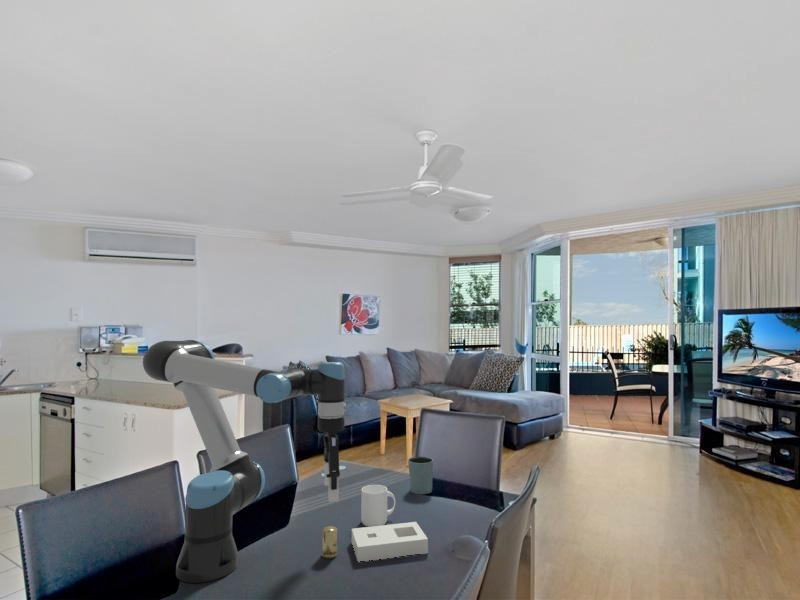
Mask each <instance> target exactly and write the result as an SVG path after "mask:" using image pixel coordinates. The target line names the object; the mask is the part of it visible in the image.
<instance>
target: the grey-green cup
mask: <svg viewBox="0 0 800 600" xmlns="http://www.w3.org/2000/svg"><path fill="white" fill-rule="evenodd" d="M407 464H408V473H409V474H408V477H409V487H410V492H411V493H412V494H416V495H426V494H427V495H428V494H431V493H432V491H433V479H434V478H433V476H434V475H433V474H434V471H433V470H434V459H433V458H432V457H429V456H414V457H413V456H412V457H410V458H408V459H407Z"/></svg>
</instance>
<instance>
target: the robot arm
mask: <svg viewBox="0 0 800 600" xmlns="http://www.w3.org/2000/svg"><path fill="white" fill-rule="evenodd" d="M142 368H143V370H144V371H145V373H146V375H148V377H150V378H151V379H154V380H155V381H160V382H166V383H171V384H173V386H174V388H175V390H177V391H179V392H182V393H183V396H184V398H185V401H186V403H187V406H188V408H189V411H190V413H191V415H192V417H193V420H194V423H195V425H196V428H197V431H198V432H199V436H200V438H201V440H202V443H203V445H204V447H205V451H206V453H207V455H208V458H209V459H210V462H211V468H210V470H209V471H208V472H205V473H202V474H199V475H197V476H195V477H193V479H191V480H190V481H189V483H188V484H187V487H186V493H185V494H186V495H185V518H184V519H185V522H184V543H182V547H181V549H180V550H181V551H180V554H179V556H178V559H177V562H176V565H175V577H176V578H177V579H178V580H179V581H181V582H184V583H189V584H197V583H198V584H200V583H206V582H211V581H216V580H218V579H221V578H223V577H225V576H227V575H229V574H231V573H233V571H234V570H236V568H237V566H238V565H239V553H238V549H237V545H236V542H235V539H234V536H233V515H235V514H237V513H238V512H240V511H241V510H243V508H245V507H247V506H249V505H251V504H252V503H254V502H255V501H256V499H258V498H259V497H260V496H261V494H262V493H263V490H264V488H265V484H266V475H265V471H264V470H263V468H262V466H261V465H260V464H259V463H256V462H255V461H253V460H251V458H250V455H249V454H248V452H245V451H242V450H241V448H240V446H239V443H238V441H237V439H236V436H235V434H234V432H233V429H232V427H231V424H230V422H229V420H228V417H227V414H226V412H225V410H224V406H223V405H222V403H221V400H220V398H219V396H218V393H217V390H216V389H219V390H224V391H229V392H233V393H237V394H242V395H247V396H252V397H258V398H259V399H260V400H261V401H263V402H264V403H267V404H273V403H274V404H277V403H280V402H282V401H285V400H288V399H292V398H294V397H295V398H296V397H298V396H317V397H318V398H317V400H318V401H317V415H318V418H317V430H318V431H319V432H320V433H324V436H323V450H324V451H323V458H324V459H323V460H324V463H323V466H324V468H323V470H324V471H323V475H324V476H323V478H324V479H323V480H324V482H323V484H324V486H327V487H328V488H327V489H328V491H327V496H328V497H327V500H328V502H329V503H331V502H332V503H333V502H339V501H340V499H339V495H340V492H339V491H340V489H339V488H340V485H339V482H340V479H339V477H340V475H341V473H340V472H341V471H340V457H339V456H340V453H339V450H340V449H339V443H340V439H339V437H338V436H339V435H337V433H338V432H342V431H344V430H345V417H344V415H345V408H347V404H346V403H345V386H346V385H345V380H346V376H345V365H344V363H342V362H340V361H328V362H326V361H324V362H319V364H318V367H317V368H314V369H313V368H312V369H309V368H286V369H285V368H284V369H282V370H281V371H276V370H271V369H265V368H260V367H257V366H256V367H255V366H251V365H245V364H240V363H235V362H230V361H224V360H220V359H215V355H214V352H213V350H212V348H211V347H210V346H209V344H206V343H205V342H203V341H199V340H194V339H185V340H162V341H158V342H156V343H154V344H152V345H151V346H150V347H149V348H148V349H147V350H146V351H145V352H144V355H143V357H142Z"/></svg>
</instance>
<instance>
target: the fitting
mask: <svg viewBox="0 0 800 600" xmlns="http://www.w3.org/2000/svg"><path fill="white" fill-rule="evenodd" d="M321 556H322V558H323V559H326V560H332V559H335V558H336V557H337V556H338V527H336V526H333V525H332V526H331V525H330V526H325V527H323V529H322V552H321ZM331 558H332V559H331Z"/></svg>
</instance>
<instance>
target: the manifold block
mask: <svg viewBox="0 0 800 600" xmlns="http://www.w3.org/2000/svg"><path fill="white" fill-rule="evenodd" d="M351 545H353V546H352V548H354V549H353V552H354V551H355V552H354V555H355V559H356V561H358V562H357V563H361V562H360V561H365V562H372V561H371V560H373V561H379V559H381V560H388V559H387V558H389V559H395V558H394V557H397V558H400V557H399V556H405V557H407V556H406V555H413V556H415V555H414V554H421V555H427V553H428V554H429V539H428V537H427V535H426V533H424V531H423V530H422V528H421V527H420V525H419V524H418V522H417V521H411V522H410V521H409V522H402V523H401V522H400V523H390V524H384V525H381V526H372V527H368V526H365V527H356V528H355V527H354V528H351ZM369 560H370V561H369Z"/></svg>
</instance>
